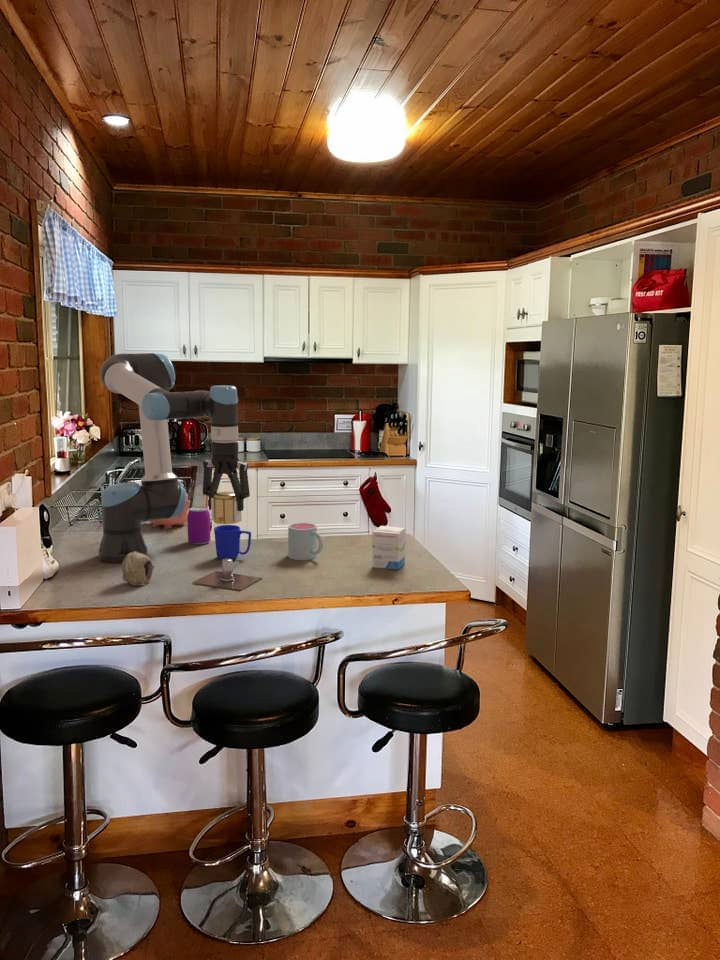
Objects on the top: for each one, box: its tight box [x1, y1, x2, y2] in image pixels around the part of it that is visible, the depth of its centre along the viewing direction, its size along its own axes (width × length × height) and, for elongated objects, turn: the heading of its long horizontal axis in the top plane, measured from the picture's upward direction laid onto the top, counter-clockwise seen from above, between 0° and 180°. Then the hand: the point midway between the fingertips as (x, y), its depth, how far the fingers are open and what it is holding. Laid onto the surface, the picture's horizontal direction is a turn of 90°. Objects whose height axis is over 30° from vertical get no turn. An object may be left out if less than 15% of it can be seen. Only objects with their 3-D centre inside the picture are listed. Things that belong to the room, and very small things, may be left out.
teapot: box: [149, 492, 192, 530], centre depth 287 cm, size 16×17×14 cm
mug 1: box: [213, 524, 252, 561], centre depth 245 cm, size 8×12×10 cm
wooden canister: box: [213, 491, 236, 525], centre depth 219 cm, size 7×9×8 cm
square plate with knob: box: [192, 559, 263, 592], centre depth 222 cm, size 16×12×6 cm
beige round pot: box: [121, 551, 155, 586], centre depth 220 cm, size 9×8×10 cm
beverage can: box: [186, 506, 211, 546], centre depth 264 cm, size 8×8×12 cm
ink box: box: [371, 525, 406, 571], centre depth 240 cm, size 9×8×12 cm
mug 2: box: [287, 522, 324, 561], centre depth 247 cm, size 14×9×10 cm
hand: (226, 520), depth 220 cm, fingers closed on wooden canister, 7 cm apart
